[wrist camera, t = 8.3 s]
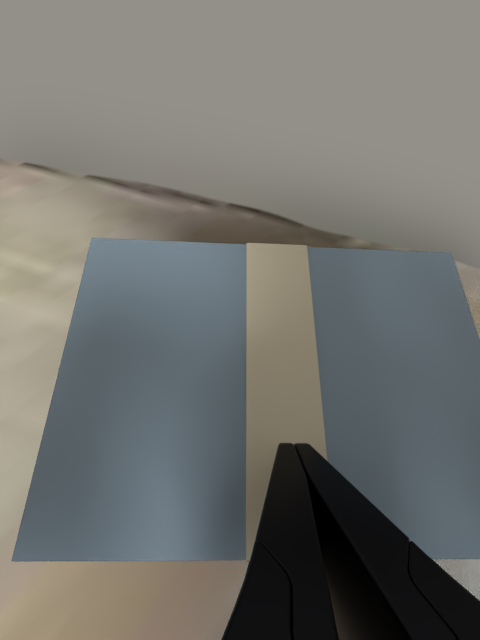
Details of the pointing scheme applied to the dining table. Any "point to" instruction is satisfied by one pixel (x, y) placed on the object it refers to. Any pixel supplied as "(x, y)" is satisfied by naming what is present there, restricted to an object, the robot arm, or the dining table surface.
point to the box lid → (254, 397)
